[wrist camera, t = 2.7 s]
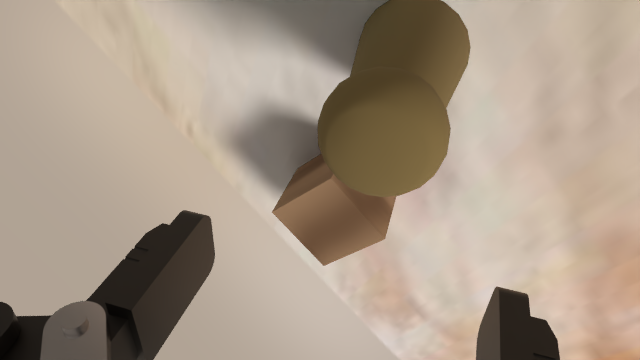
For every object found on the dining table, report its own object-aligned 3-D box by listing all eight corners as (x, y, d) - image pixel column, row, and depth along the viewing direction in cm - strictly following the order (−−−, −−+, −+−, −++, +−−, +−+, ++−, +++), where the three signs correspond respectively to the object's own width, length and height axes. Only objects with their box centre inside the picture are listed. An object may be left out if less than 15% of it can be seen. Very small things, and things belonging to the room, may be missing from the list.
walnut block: (297, 168, 33) (272, 212, 29) (351, 134, 30) (331, 178, 26) (342, 217, 34) (323, 265, 31) (397, 189, 32) (384, 239, 28)
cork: (384, 114, 29) (339, 233, 20) (340, 22, 26) (267, 112, 18) (485, 80, 26) (482, 201, 17) (446, -27, 23) (420, 53, 15)
